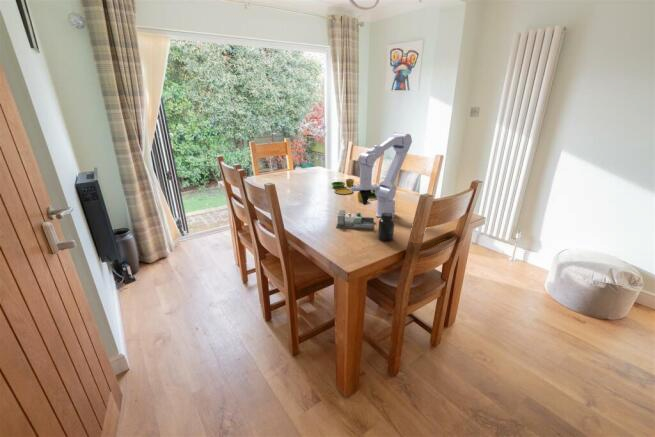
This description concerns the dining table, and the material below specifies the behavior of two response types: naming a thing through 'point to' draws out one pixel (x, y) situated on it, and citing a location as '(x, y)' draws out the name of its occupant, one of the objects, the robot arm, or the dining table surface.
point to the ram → (358, 218)
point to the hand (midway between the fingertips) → (364, 204)
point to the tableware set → (348, 191)
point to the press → (365, 224)
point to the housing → (349, 219)
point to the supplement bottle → (386, 227)
